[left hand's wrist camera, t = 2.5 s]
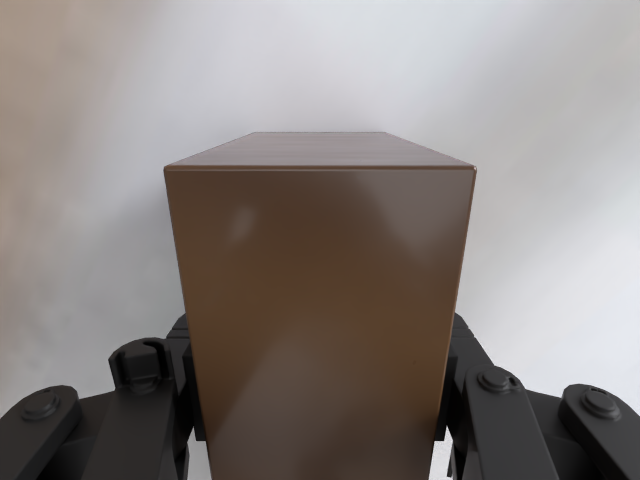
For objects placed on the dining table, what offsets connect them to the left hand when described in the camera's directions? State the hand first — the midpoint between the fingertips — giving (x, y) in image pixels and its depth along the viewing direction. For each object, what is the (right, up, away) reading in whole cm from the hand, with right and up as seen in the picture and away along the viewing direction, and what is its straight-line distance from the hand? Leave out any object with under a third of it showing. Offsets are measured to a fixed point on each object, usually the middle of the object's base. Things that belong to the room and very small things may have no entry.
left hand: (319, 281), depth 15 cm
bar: (0, -25, +10) cm, 27 cm away
